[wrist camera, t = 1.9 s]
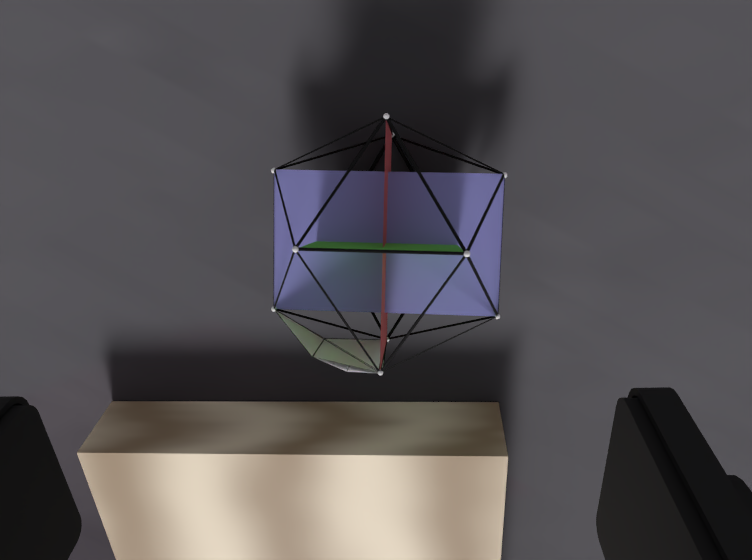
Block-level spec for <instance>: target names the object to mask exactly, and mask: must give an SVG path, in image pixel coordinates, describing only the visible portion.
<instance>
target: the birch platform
mask: <svg viewBox="0 0 752 560" xmlns="http://www.w3.org/2000/svg"><path fill="white" fill-rule="evenodd" d="M77 454H78V457H79V460H80V462H81V465H82V468H83V471H84V473H85V476H86V479H87V481H88V484H89V487H90V490H91V492H92V495H93V498H94V500H95V503H96V506H97V509H98V511H99V514H100V517H101V519H102V522H103V525H104V528H105V530H106V533H107V536H108V538H109V541H110V544H111V547H112V549H113V552H114V555H115V557H116V560H501V549H502V535H503V521H504V507H505V493H506V479H507V465H508V453H507V447H506V442H505V436H504V430H503V425H502V419H501V414H500V408H499V402H229V401H112V402H111V403H110V405H109V406H108V408H107V409H106V411H105V412H104V414H103V415H102V417H101V418H100V420H99V421H98V423H97V424H96V425H95V427H94V428H93V430H92V431H91V433H90V434H89V436H88V437H87V439H86V440H85V442H84V443H83V445H82V446H81V447H80V449H79V450H78V452H77Z"/></svg>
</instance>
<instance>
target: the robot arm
mask: <svg viewBox="0 0 752 560" xmlns="http://www.w3.org/2000/svg"><path fill="white" fill-rule="evenodd" d="M596 526H597V533H598V538H599V542H600V545H601V548H602V551H603V554H604V557H605V560H752V492H751V490H750V489H749V488H748V486H747V485H746V484H745V483H744V481H743V480H741V479H740V478H738V477H737V476H735V475H727V474H726V473H725V471H724V469H723V468H722V466H721V465H720V463H719V461H718V460H717V458H716V456H715V455H714V453H713V451H712V450H711V448H710V447H709V445H708V443H707V442H706V440H705V438H704V437H703V435H702V433H701V432H700V430H699V429H698V427H697V425H696V424H695V422H694V420H693V419H692V417H691V415H690V414H689V412H688V411H687V409H686V407H685V406H684V404H683V402H682V401H681V399H680V397H679V396H678V394H677V393H676V392H675V390H674V389H672V388H633V389H631V391H630V392H629V395H628V398H619V399H618V401H617V405H616V410H615V416H614V421H613V427H612V432H611V438H610V444H609V449H608V455H607V460H606V466H605V472H604V477H603V483H602V488H601V494H600V499H599V505H598V511H597V517H596ZM80 532H81V517H80V514H79V512H78V509H77V507H76V504H75V502H74V499H73V497H72V494H71V492H70V489H69V487H68V484H67V482H66V479H65V477H64V474H63V472H62V469H61V467H60V464H59V462H58V459H57V457H56V454H55V452H54V449H53V447H52V445H51V442H50V440H49V437H48V435H47V432H46V430H45V427H44V425H43V422H42V420H41V417H40V415H39V412H38V410H37V409H36V408H35V407H34V406H31V405H29V403H28V402H27V400H25V399H24V398H23V397H18V396H17V397H0V560H68V558H69V556H70V554H71V552H72V550H73V549H74V547H75V545H76V543H77V541H78V539H79V536H80Z"/></svg>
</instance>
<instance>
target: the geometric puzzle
mask: <svg viewBox="0 0 752 560" xmlns="http://www.w3.org/2000/svg"><path fill="white" fill-rule="evenodd" d="M381 119H382V120H381ZM381 119H378V120H376V121H374V122H372V123H370V124H368V125H366V126H369V125H371V124H373V123H375V122H377V121H379V120H381V122H380V123H379V125H378V126H377V128H376V129H375V131H374V132H373V134H372V135H371V136H370V138H369V139H368V141H367V142H364V143H361V144H358V145H354V146H351V147H347V148H344V149H341V150H337V151H334V152H330V153H327V154H324V155H320V156H317V157H313V158H310V159H307V160H303V161H300V162H296V163H293V164H289V163H291V162H293V161H295V160H297V159H299V158H301V157H303V156H305V155H308V154H310V153H312V152H314V151H316V150H318V149H320V148H322V147H324V146H327V145H329V144H331V143H333V142H335V141H337V140H339V139H341V138H343V137H345V136H348V135H350V134H352V133H354V132H356V131H358V130H360V129H362V128H364V127H366V126H364V127H362V128H360V129H358V130H355V131H353V132H351V133H349V134H347V135H345V136H343V137H341V138H339V139H337V140H334V141H332V142H330V143H328V144H326V145H324V146H322V147H320V148H318V149H316V150H313V151H311V152H309V153H307V154H305V155H303V156H301V157H299V158H297V159H295V160H293V161H290V162H288V163H286V164H284V165H286V166H284V165H282V166H283V167H282V166H280V167H278V168H272V169H271V172H272V173H274V306H273V307H272V308H271V310H272V311H273V312H274V311H276V313H277V314H278V315H279V316H280V318H281V319H282V320H283V321H284V323H285V324H286V325H287V326H288V328H289V329H290V330H291V331H292V333H293V334H294V335H295V336H296V337H297V339H298V340H299V341H300V342H301V344H302V345H303V346H304V347H305V349H306V350H307V351H308V352H309V354H310V355H311V356H312V357H314V358H316V359H318V360H321V361H323V362H325V363H328V364H330V365H332V366H335V367H337V368H339V369H341V370H344V371H346V372H360V373H378V375H382V374H383V372H384V371H386V370H388V369H390V368H392V367H394V366H396V365H398V364H400V363H402V362H404V361H406V360H408V359H411V358H413V357H415V356H417V355H419V354H421V353H423V352H425V351H427V350H429V349H431V348H433V347H436V346H438V345H440V344H442V343H444V342H446V341H448V340H450V339H452V338H454V337H456V336H458V335H460V334H458V335H456V336H454V337H452V338H450V339H448V340H446V341H444V342H442V343H440V344H438V345H436V346H433V347H431V348H429V349H427V350H425V351H423V352H421V353H419V354H417V355H415V356H413V357H411V358H408V359H406V360H404V361H402V362H400V363H398V364H396V365H394V366H392V367H390V368H388V369H386V370H384V369H385V367H386V366H387V365H388V363H389V362H390V360H391V359H392V358H393V356H394V355H395V354H396V352H397V351H398V349H399V348H400V347H401V345H402V344H403V343H404V341H405V340H406V339H407V337H408V336H409V335H413V334H417V333H422V332H427V331H432V330H437V329H441V328H446V327H451V326H456V325H461V324H465V323H470V322H475V321H480V320H484V319H489V318H492V319H494V318H496V319H499V318H500V315H499V314H498V311H499V290H500V269H501V248H502V227H503V206H504V185H505V178H506V177H507V173H506V172H504V173H502V172H500V171H498V170H496V169H494V168H492V167H490V166H488V165H486V164H484V163H482V162H480V161H477V160H475V159H473V158H471V157H469V156H467V155H465V154H463V153H461V152H459V151H457V150H455V149H453V148H451V147H449V146H447V145H445V144H443V143H440V142H438V141H436V140H434V139H432V138H430V137H428V136H426V135H424V134H422V133H420V132H418V131H416V130H414V129H412V128H410V127H408V126H406V125H403V124H401V123H399V122H397V121H395V120H393V119H391V118H389V114H388V113H385V114H384V115H383V118H381ZM390 120H392V121H394V122H396V123H398V124H400V125H402V126H404V127H406V128H408V129H411V130H413V131H415V132H417V133H419V134H421V135H423V136H425V137H427V138H429V139H431V140H433V141H435V142H437V143H439V144H441V145H444V146H446V147H448V148H450V149H452V150H454V151H456V152H458V153H460V154H462V155H464V156H466V157H468V158H470V159H472V160H474V161H477V162H479V163H481V164H483V165H485V166H487V167H489V168H487V167H484V166H481V165H478V164H476V163H473V162H470V161H467V160H464V159H461V158H458V157H455V156H452V155H450V154H447V153H444V152H441V151H438V150H435V149H432V148H429V147H426V146H423V145H421V144H418V143H415V142H412V141H409V140H406V139H403V138H400V136H399V134H398V133H397V131H396V129H395V128H394V126H393V124H392V123H391V121H390ZM384 121H385V122H386V134H385V137H381V138H378V139H375V140H372V139H373V137H374V136H375V134H376V133H377V131H378V130H379V129H380V127H381V126H382V124H383V123H384ZM391 129H392V130H391ZM392 131H393V132H392ZM384 138H385V145H384V146H383V148H382V150H381V151H380V153H379V155H378V156H377V158H376V160H375V161H374V163H373V165H372V166H371V168H370V170H369V171H351V169H352V168H353V167H354V165H355V164H356V162H357V161H358V159H359V158H360V156H361V155H362V153H363V152H364V150H365V149H366V148H367V146H368V145H369V143H371V142H374V141H377V140H381V139H384ZM396 138H397V139H398V141H399V143H400V145H401V146H402V148H403V150H404V151H405V153H406V155H407V156H408V158H409V160H410V162H411V163H412V165H413V167H414V168H415V170H416V172H414V170H413V169H412V167H411V165H410V163H409V161H408V160H407V158H406V156H405V154H404V153H403V151H402V149H401V147H400V145H399V144H398V142H397V140H396ZM392 140H393V142H394V143H395V145H396V147H397V149H398V150H399V152H400V154H401V156H402V157H403V159H404V161H405V163H406V165H407V166H408V168H409V170H410V172H391V149H392ZM402 140H403V141H406V142H409V143H412V144H415V145H418V146H421V147H424V148H426V149H429V150H432V151H435V152H438V153H441V154H444V155H447V156H449V157H452V158H455V159H458V160H461V161H464V162H467V163H469V164H472V165H475V166H478V167H481V168H484V169H487V170H490V171H492V172H495V173H498V174H485V173H433V172H420V170H419V168H418V167H417V165H416V163H415V162H414V160H413V158H412V157H411V155H410V153H409V151H408V150H407V148H406V146H405V145H404V143H403V141H402ZM364 144H365V145H364ZM360 145H364V147H363V148H362V150H361V151H360V152H359V154H358V155H357V157H356V158H355V160H354V161H353V163H352V164H351V166H350V167H349V168H348V170H347V171H330V170H279V169H283V168H286V167H289V166H293V165H296V164H299V163H303V162H306V161H310V160H313V159H316V158H320V157H323V156H327V155H330V154H333V153H337V152H340V151H344V150H347V149H350V148H354V147H357V146H360ZM384 151H385V172H382V171H373V169H374V168H375V166H376V164H377V163H378V161H379V159H380V157H381V156H382V154H383V152H384ZM287 164H289V165H287ZM490 168H491V169H490ZM281 309H290V310H321V311H336V312H337V313H338V315H339V316H340V317H341V319H342V320H343V322H344V323H345V325H346V326H347V327H343V326H339V325H336V324H332V323H328V322H325V321H321V320H317V319H314V318H310V317H306V316H303V315H299V314H295V313H292V312H288V311H284V310H281ZM279 311H281V312H285V313H288V314H292V315H296V316H299V317H303V318H307V319H310V320H314V321H318V322H322V323H325V324H329V325H333V326H336V327H340V328H344V329H347V330H350V332H351V333H352V335H353V336H354V338H355V339H335V338H323V337H321V336H320V335H318V334H316V333H314V332H313V331H311V330H309V329H308V328H306V327H304V326H302V325H301V324H299V323H297V322H295V321H294V320H292V319H290V318H289V317H287V316H286V315H284V314H282V313H281V312H279ZM339 311H351V312H371V313H372V315H373V317H374V319H375V321H376V323H377V324H378V326H379V328H380V330H381V337H380V336H376V335H372V334H369V333H365V332H361V331H358V330H354V329H351V328H350V327H349V325H348V324H347V322H346V321H345V319H344V318H343V316H342V315H341V314H340V312H339ZM374 312H381V325H380V323H379V321H378V319H377V317H376V315H375V313H374ZM387 313H402V314H401V315H400V317H399V318H398V320H397V322H396V323H395V325H394V326H393V328H392V329H391V331H390V333H389V334H388V336H387ZM405 313H412V314H421V315H420V316H419V318H418V319H417V320H416V322H415V323H414V325H413V326H412V327H411V329H410V330H409V331H408V333H407V334H405V335H400V336H395V337H391V338H389V337H390V336H391V334H392V333H393V331H394V330H395V328H396V326H397V325H398V323H399V322H400V320H401V318H402V317H403V315H404V314H405ZM424 314H442V315H473V316H490V317H485V318H481V319H476V320H471V321H466V322H462V323H457V324H452V325H447V326H443V327H438V328H433V329H428V330H424V331H419V332H414V333H411V332H412V330H413V329H414V328H415V326H416V325H417V324H418V322H419V321H420V319H421V318H422V317H423V315H424ZM492 319H490V320H492ZM490 320H488V321H490ZM488 321H486V322H488ZM483 323H485V322H483ZM483 323H481V324H483ZM481 324H479V325H481ZM479 325H477V326H479ZM477 326H475V327H477ZM475 327H473V328H475ZM473 328H471V329H473ZM471 329H469V330H471ZM469 330H467V331H469ZM353 331H355V332H358V333H362V334H366V335H369V336H373V337H377V338H381V340H378V339H358V338H357V337H356V335H355V334H354V332H353ZM467 331H465V332H467ZM465 332H463V333H465ZM463 333H461V334H463ZM403 336H405V337H404V338H403V340H402V341H401V342H400V344H399V345H398V347H397V348H396V349H395V351H394V352H393V353H392V355H391V356H390V357H389V359H388V360H387V362H386V363H385V364H384V361H385V352H386V345H387V342H388V341H389V339H394V338H398V337H403Z"/></svg>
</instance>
